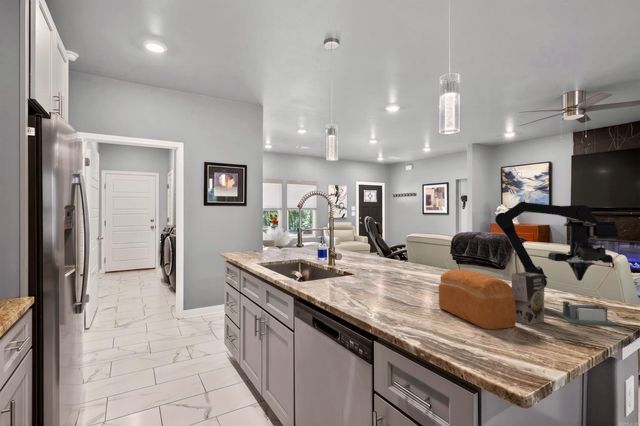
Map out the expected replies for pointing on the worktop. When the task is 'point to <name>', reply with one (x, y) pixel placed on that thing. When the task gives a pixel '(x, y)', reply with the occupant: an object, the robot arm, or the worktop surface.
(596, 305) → the grey and brown bar
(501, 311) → the bread
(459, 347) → the worktop surface
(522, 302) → the coffee box
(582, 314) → the heatsink board
